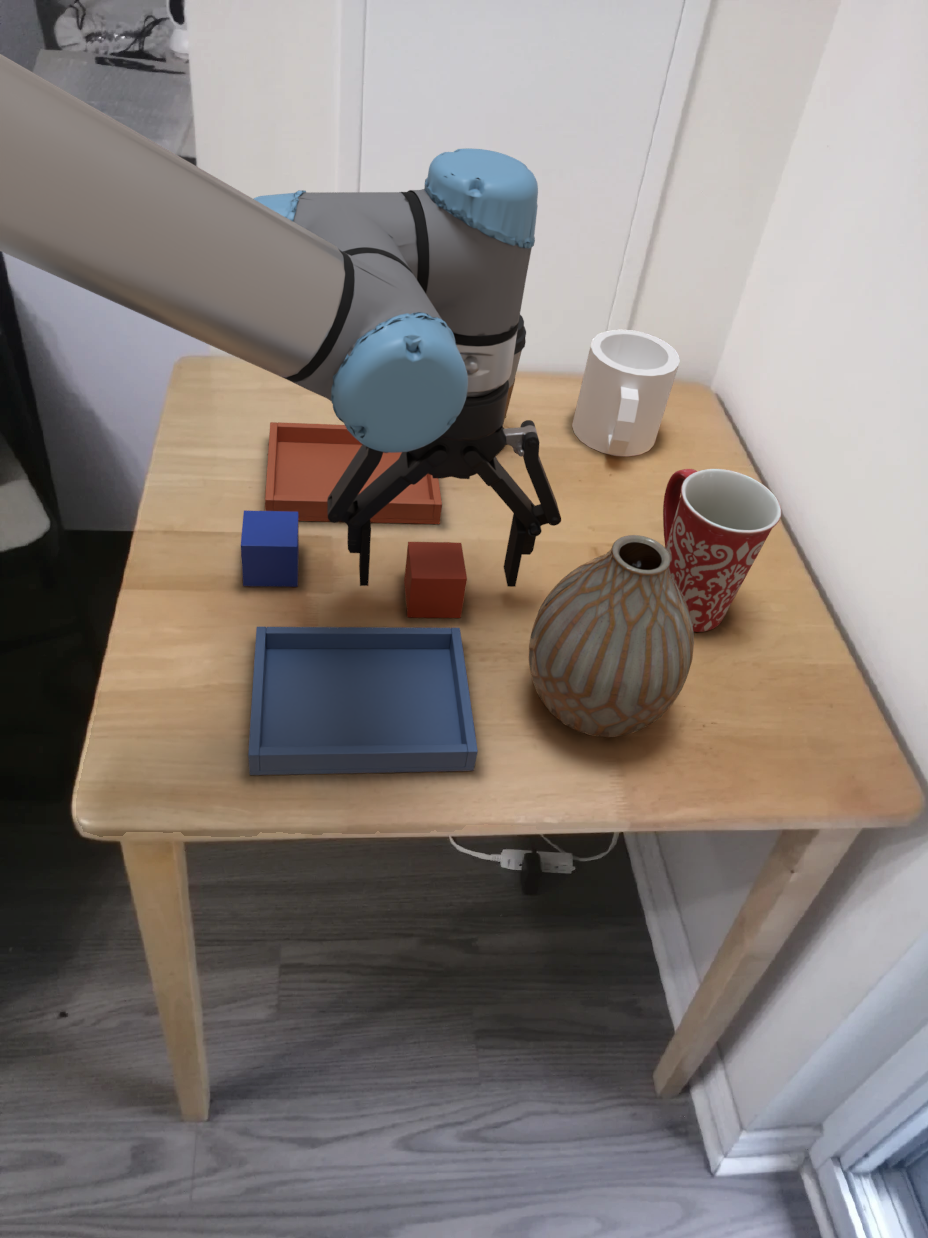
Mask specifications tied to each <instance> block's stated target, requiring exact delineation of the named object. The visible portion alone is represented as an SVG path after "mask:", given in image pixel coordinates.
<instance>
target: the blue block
mask: <svg viewBox="0 0 928 1238" xmlns="http://www.w3.org/2000/svg"><path fill="white" fill-rule="evenodd" d="M299 537H300V535H299V521H298V512H288V511H266V510H247V509H246V510H243V514H242V527H241V536H240V556H241V557H240V558H241V574H242V586H243V587H278V588H279V587H282V588H283V587H286V588H287V587H289V588H291V587H292V588H297V587H299V558H300V556H299V551H300V548H299V547H300V545H299V544H300V543H299V542H300V541H299Z"/></svg>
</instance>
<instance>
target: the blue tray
mask: <svg viewBox="0 0 928 1238" xmlns="http://www.w3.org/2000/svg"><path fill="white" fill-rule="evenodd" d="M255 628H256V629H255V642H254V643H255V646H254V662H253V674H252V675H253V676H252V689H251V691H252V692H251V707H250V720H249V721H250V722H249V735H248V736H249V737H248V753H247V759H248V770H249V771H248V773H249V775H250V776H274V775H275V776H279V775H280V776H281V775H283V776H284V775H324V774H325V775H333V774H336V775H337V774H377V773H378V774H379V773H380V774H381V773H382V774H383V773H431V772H433V773H435V772H473V771H475V766H476V763H477V756H478V752H479V750H478V743H477V737H476V736H477V735H476V729H475V723H474V715H473V709H472V702H471V701H472V700H471V694H470V689H469V681H468V675H467V668H466V661H465V654H464V647H463V640H462V634H461V628H460V627H409V626H408V627H401V626H399V627H398V626H397V627H395V626H394V627H389V626H388V627H387V626H382V627H381V626H379V627H378V626H376V627H375V626H256V627H255Z"/></svg>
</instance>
